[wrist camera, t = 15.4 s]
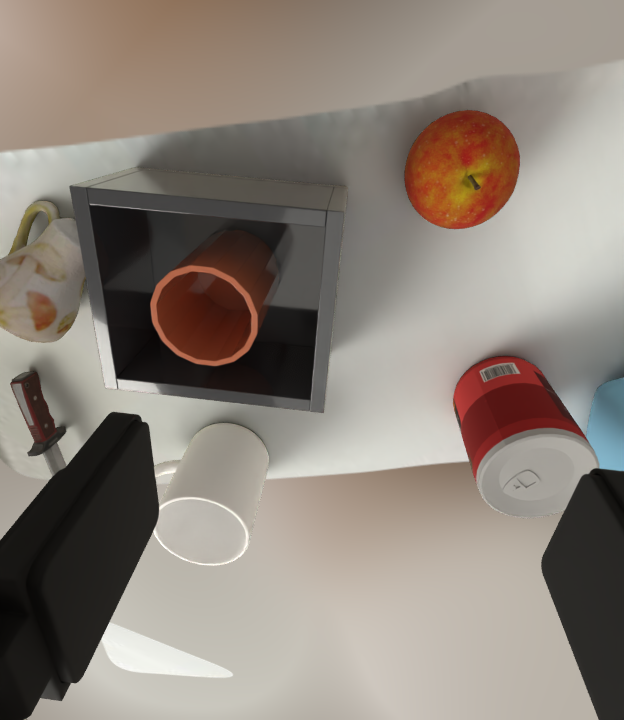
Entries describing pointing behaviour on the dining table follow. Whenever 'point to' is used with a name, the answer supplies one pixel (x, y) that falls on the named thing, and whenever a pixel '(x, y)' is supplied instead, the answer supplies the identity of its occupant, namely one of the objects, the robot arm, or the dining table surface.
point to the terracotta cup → (216, 298)
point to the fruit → (462, 169)
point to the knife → (39, 420)
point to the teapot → (608, 425)
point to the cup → (212, 495)
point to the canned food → (520, 438)
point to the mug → (42, 278)
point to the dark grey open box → (181, 237)
